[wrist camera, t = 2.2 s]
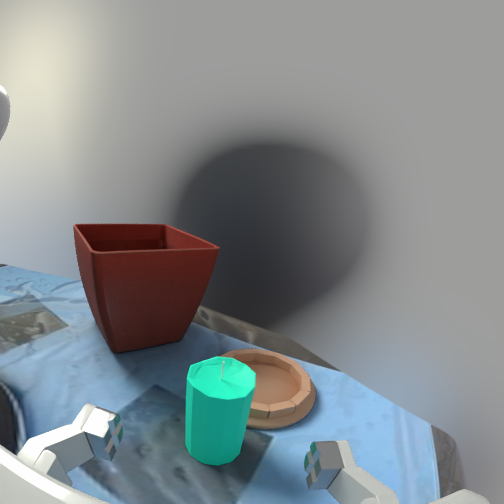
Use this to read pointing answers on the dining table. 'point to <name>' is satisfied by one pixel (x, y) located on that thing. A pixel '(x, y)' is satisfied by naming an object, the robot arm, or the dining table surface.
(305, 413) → the saucer
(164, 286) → the plant pot
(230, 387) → the candle
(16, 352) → the dining table surface
